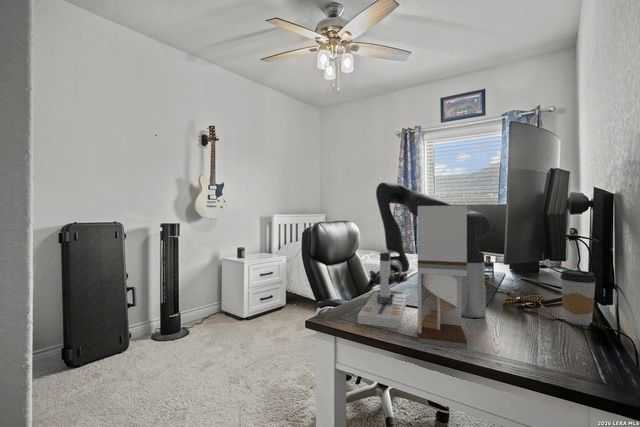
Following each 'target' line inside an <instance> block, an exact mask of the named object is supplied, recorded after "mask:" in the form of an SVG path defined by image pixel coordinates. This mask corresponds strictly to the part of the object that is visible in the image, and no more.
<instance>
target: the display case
mask: <svg viewBox="0 0 640 427" xmlns="http://www.w3.org/2000/svg"><path fill="white" fill-rule="evenodd" d="M467 208H468V206H467V205H453V206H418V217H417V343H418V344H419V343H420V344H426V345H427V344H429V345H434V346H442V347H443V346H444V347H451V348H452V347H453V348H457V349H459V348H460V349H467V348H468V340H467V337H466V335H465V331H464V328H463V326H462V316H461V276H467V210H468V209H467Z"/></svg>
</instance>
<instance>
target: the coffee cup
mask: <svg viewBox="0 0 640 427" xmlns="http://www.w3.org/2000/svg"><path fill="white" fill-rule="evenodd" d="M559 278H560V282H561V301H562V309H563V311H562V312H563V318H564V320H565V321H566V322H567V323H569V324H570V323H571V324H573V325H578V326H591V324H590V323H593V313H594V305H595V291H596V283H597V278H596V276H595V273H594V272H591V271H586V270H585V271H584V270H579V269H578V270H577V269H576V270H575V269H564V270H561V273H560V277H559Z"/></svg>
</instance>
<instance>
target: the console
mask: <svg viewBox="0 0 640 427" xmlns="http://www.w3.org/2000/svg"><path fill="white" fill-rule="evenodd" d="M378 294H380V291H374V292H373V293H372V295H371V296H370V298H369V299H368V301H367V302H365V303H366V304H364V306H363V307H362V309H360V311H359V313H358V314H357V324H362V325H368V326H376V327H383V328H390V329H391V328H392V329H398V330H399V329H400V327H401V322H402V319H403V315H404V312H405V310H406V306H407V303H408V294H406V293H405V294H404V293H396V292H395V293H393V292H390V295H394V301H393V303H392V304H386V303H377V296H378ZM406 302H407V303H406Z"/></svg>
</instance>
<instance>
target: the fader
mask: <svg viewBox="0 0 640 427" xmlns="http://www.w3.org/2000/svg"><path fill="white" fill-rule="evenodd" d="M390 257H391V252H380V253H379V271H380V284H379V292H380V294H378V296H377V303H386V304H392V303H393V301H394V295H390V293H391V285H389V284H388V279H389V277H390Z"/></svg>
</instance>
